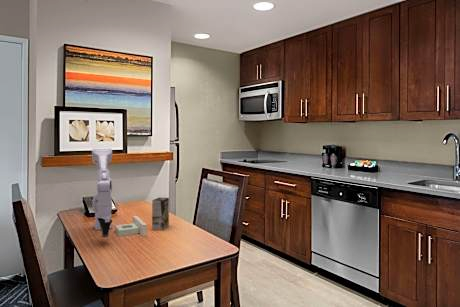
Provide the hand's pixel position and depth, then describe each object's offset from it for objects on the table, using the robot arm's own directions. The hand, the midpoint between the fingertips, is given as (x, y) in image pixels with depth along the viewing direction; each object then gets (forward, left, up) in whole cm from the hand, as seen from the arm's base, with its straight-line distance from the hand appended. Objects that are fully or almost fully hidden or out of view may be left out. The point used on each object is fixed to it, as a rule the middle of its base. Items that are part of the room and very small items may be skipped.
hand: (104, 233), depth 156 cm
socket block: (-11, +13, -4) cm, 17 cm away
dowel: (0, 0, -1) cm, 1 cm away
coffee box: (-11, +31, -4) cm, 33 cm away
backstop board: (-10, +19, -4) cm, 22 cm away
